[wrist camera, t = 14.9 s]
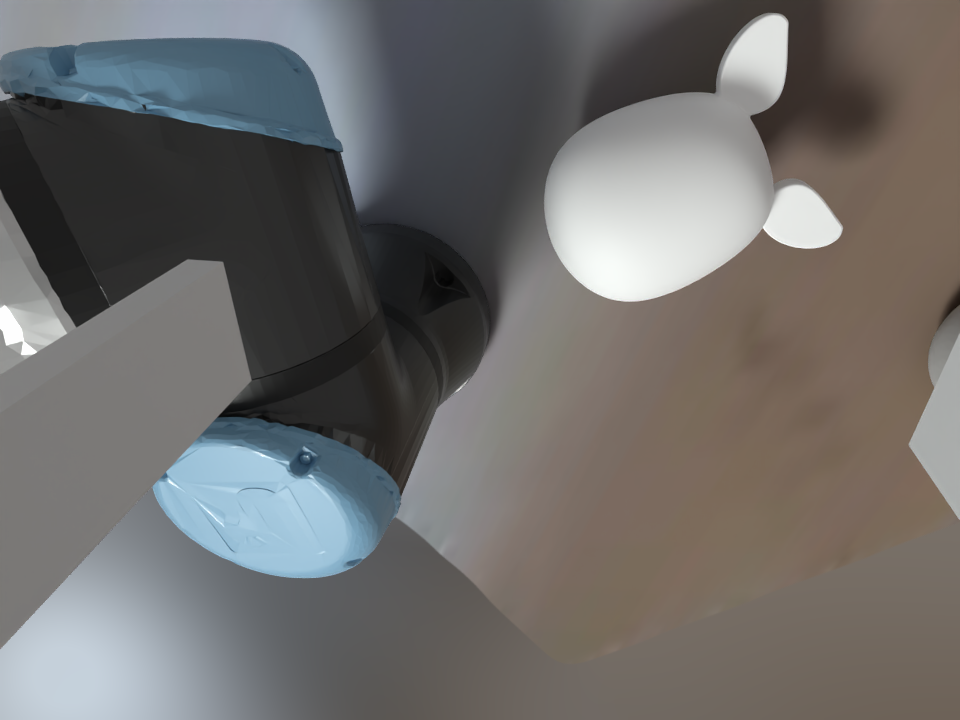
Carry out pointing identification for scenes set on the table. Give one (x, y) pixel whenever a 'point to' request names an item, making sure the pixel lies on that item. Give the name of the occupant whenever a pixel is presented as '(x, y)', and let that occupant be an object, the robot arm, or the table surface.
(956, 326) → the teacup
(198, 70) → the robot arm
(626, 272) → the piggy bank
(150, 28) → the table surface
